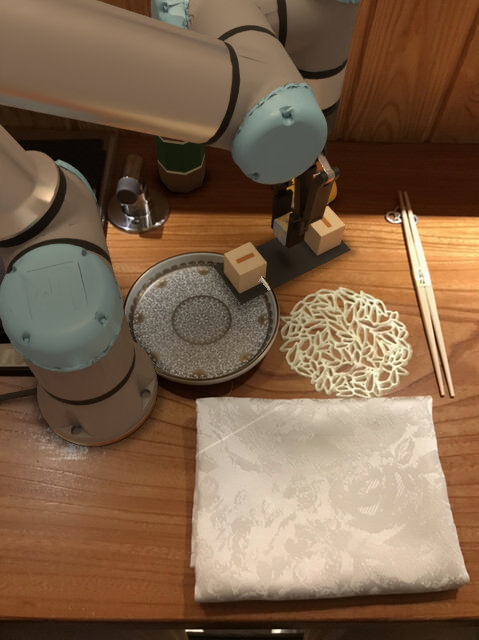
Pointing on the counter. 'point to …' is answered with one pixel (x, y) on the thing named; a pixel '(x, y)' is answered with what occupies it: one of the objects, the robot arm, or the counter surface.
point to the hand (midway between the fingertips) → (287, 234)
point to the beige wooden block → (325, 232)
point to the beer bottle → (180, 164)
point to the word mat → (283, 265)
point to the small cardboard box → (244, 267)
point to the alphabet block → (281, 228)
